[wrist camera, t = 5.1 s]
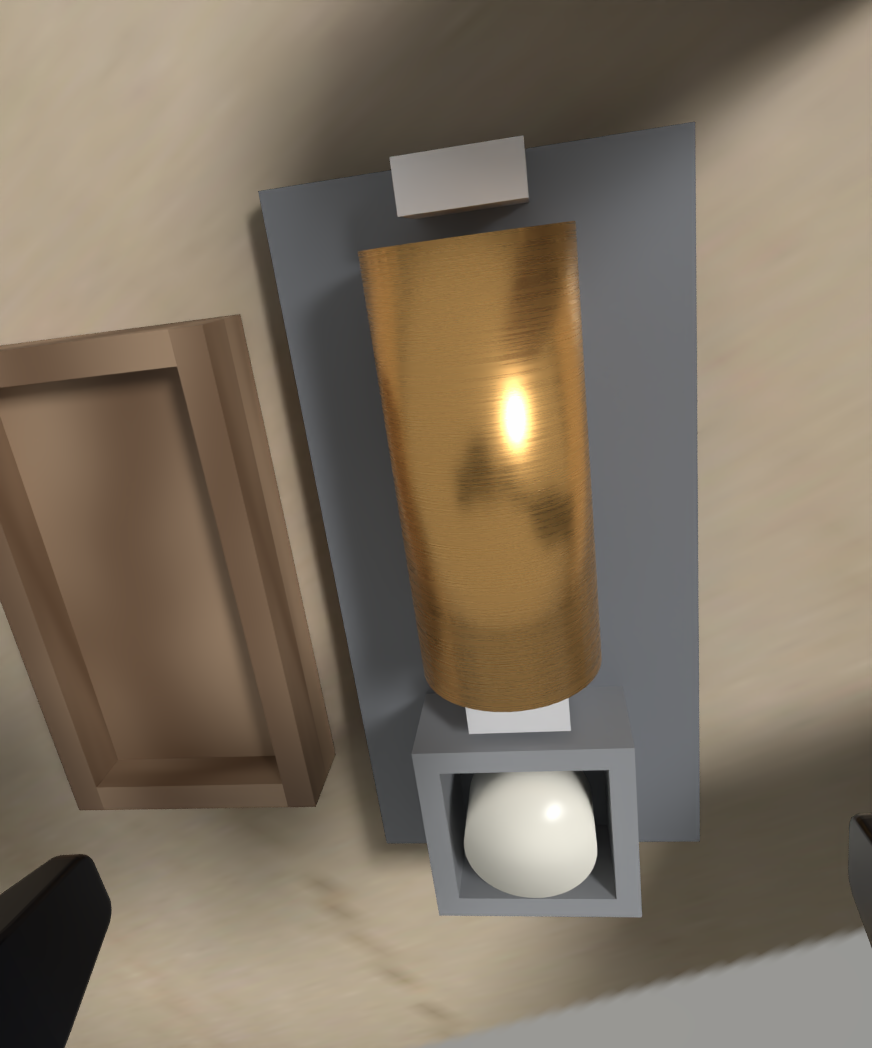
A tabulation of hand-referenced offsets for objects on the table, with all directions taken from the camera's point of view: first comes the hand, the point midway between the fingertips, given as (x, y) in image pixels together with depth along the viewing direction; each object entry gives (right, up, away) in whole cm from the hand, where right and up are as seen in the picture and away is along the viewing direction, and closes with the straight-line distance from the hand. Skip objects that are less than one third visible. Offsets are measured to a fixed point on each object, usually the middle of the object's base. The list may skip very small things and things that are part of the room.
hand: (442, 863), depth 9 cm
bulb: (+2, -3, +11) cm, 12 cm away
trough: (-8, +3, +12) cm, 15 cm away
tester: (+2, +3, +11) cm, 11 cm away
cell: (+1, +5, +6) cm, 8 cm away
